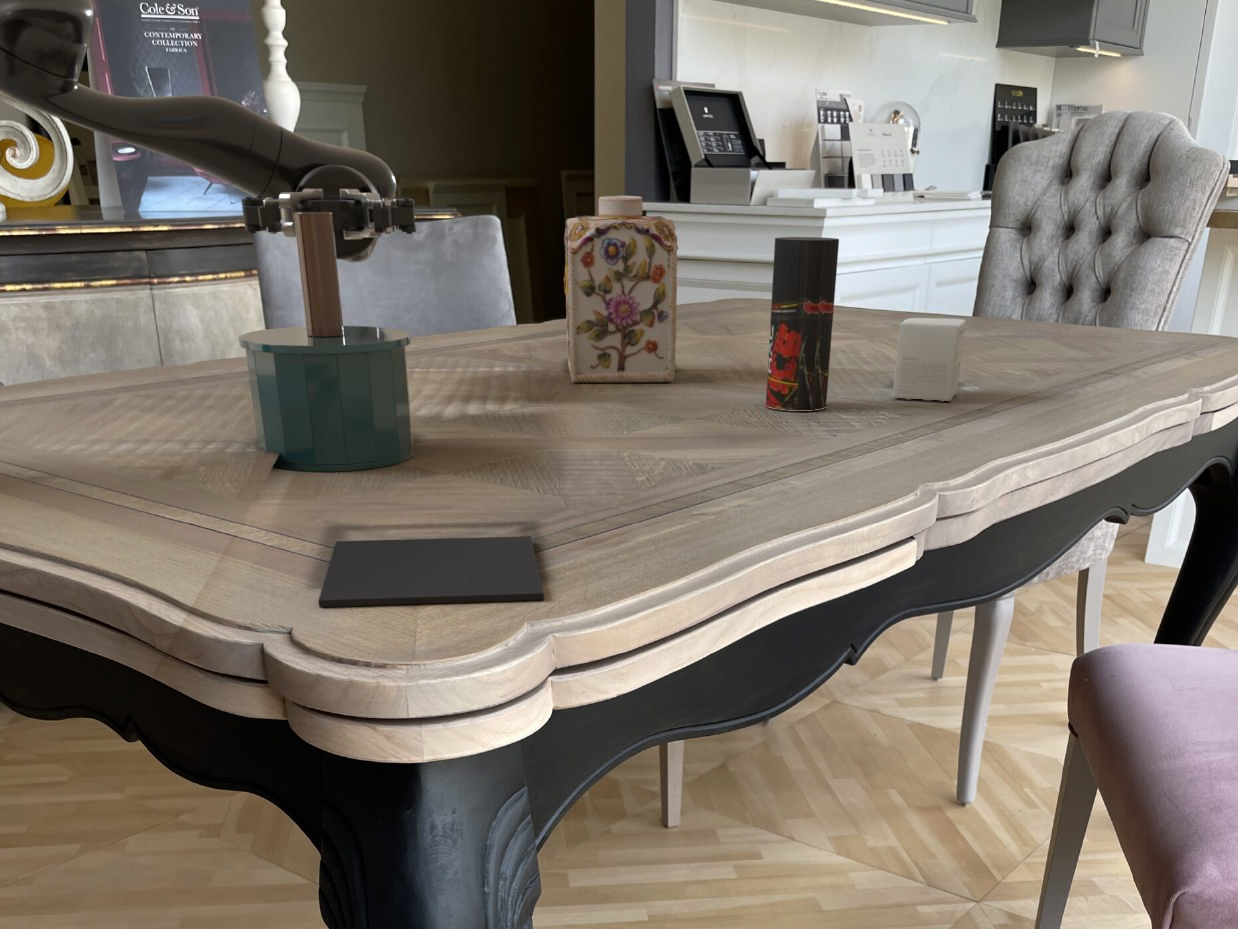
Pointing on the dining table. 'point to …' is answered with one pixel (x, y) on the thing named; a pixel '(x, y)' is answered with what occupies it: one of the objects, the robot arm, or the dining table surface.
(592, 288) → the decorative jar
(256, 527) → the dining table surface
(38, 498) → the dining table surface
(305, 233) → the lid
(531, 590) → the mat
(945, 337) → the product box
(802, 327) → the deodorant
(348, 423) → the canister
